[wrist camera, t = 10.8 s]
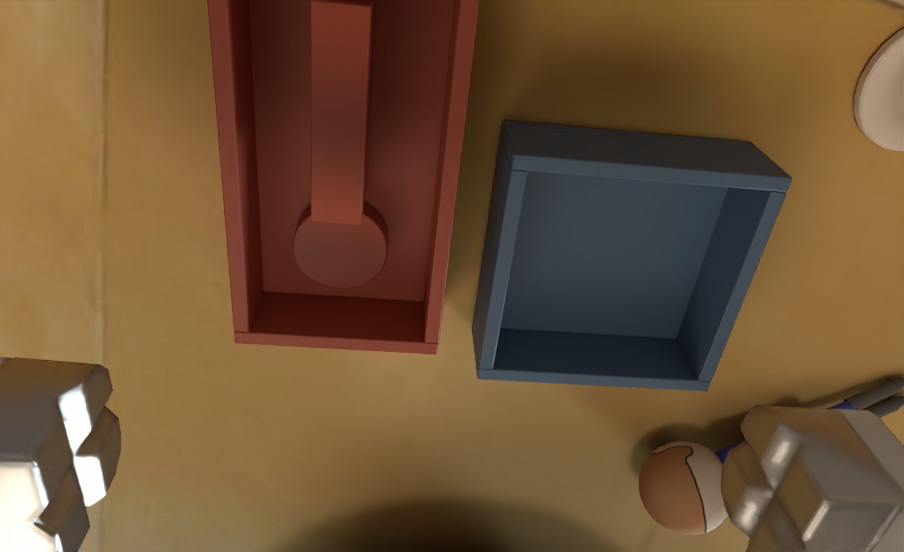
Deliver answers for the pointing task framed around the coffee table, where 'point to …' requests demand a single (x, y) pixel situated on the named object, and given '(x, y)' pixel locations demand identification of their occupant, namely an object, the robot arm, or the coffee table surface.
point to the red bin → (389, 170)
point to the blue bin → (618, 255)
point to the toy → (718, 471)
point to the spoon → (341, 151)
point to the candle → (883, 95)
